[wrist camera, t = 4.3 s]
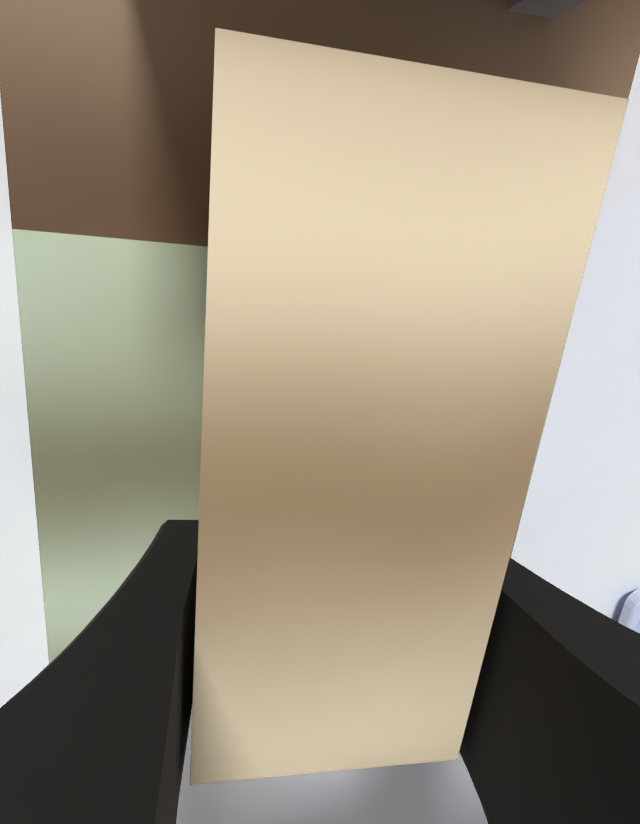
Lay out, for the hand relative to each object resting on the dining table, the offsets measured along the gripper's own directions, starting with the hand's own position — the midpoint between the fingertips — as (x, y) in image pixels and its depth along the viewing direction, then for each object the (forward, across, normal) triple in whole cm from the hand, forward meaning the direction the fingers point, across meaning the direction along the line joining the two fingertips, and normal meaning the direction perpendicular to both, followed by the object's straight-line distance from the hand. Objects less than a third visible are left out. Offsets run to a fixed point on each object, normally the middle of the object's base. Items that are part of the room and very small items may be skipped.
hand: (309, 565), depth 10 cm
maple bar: (+1, 0, -3) cm, 3 cm away
